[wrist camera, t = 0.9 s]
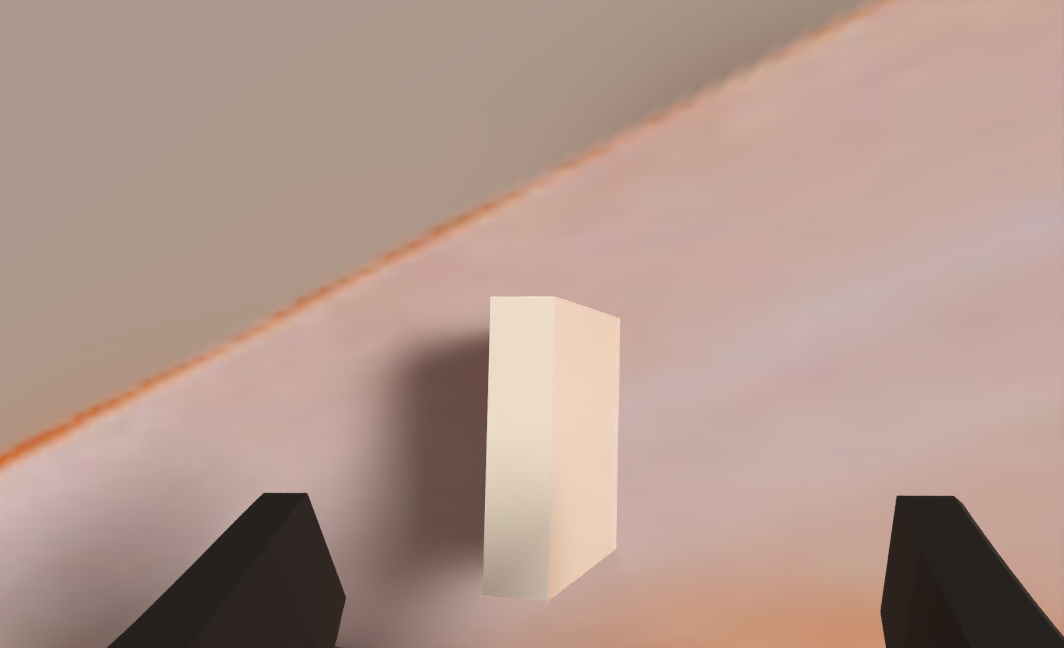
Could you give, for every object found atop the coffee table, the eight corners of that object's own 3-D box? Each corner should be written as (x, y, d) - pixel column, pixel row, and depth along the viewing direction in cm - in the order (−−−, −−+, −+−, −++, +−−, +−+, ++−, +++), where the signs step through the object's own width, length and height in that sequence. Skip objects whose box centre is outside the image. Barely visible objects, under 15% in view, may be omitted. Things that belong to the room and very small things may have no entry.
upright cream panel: (616, 548, 27) (547, 601, 20) (565, 544, 27) (482, 594, 21) (620, 318, 27) (554, 296, 21) (570, 318, 28) (490, 296, 21)
